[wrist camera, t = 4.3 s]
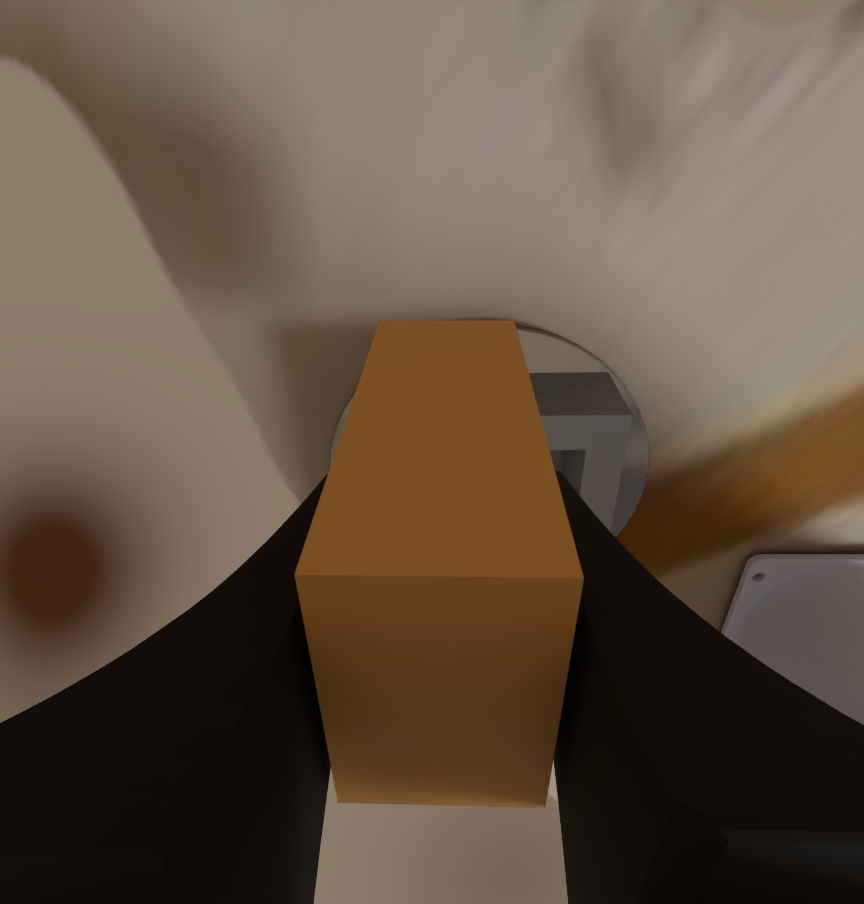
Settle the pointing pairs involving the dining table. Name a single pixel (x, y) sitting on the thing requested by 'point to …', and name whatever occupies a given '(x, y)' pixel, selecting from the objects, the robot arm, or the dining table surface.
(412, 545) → the rectangular block
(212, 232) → the dining table surface
